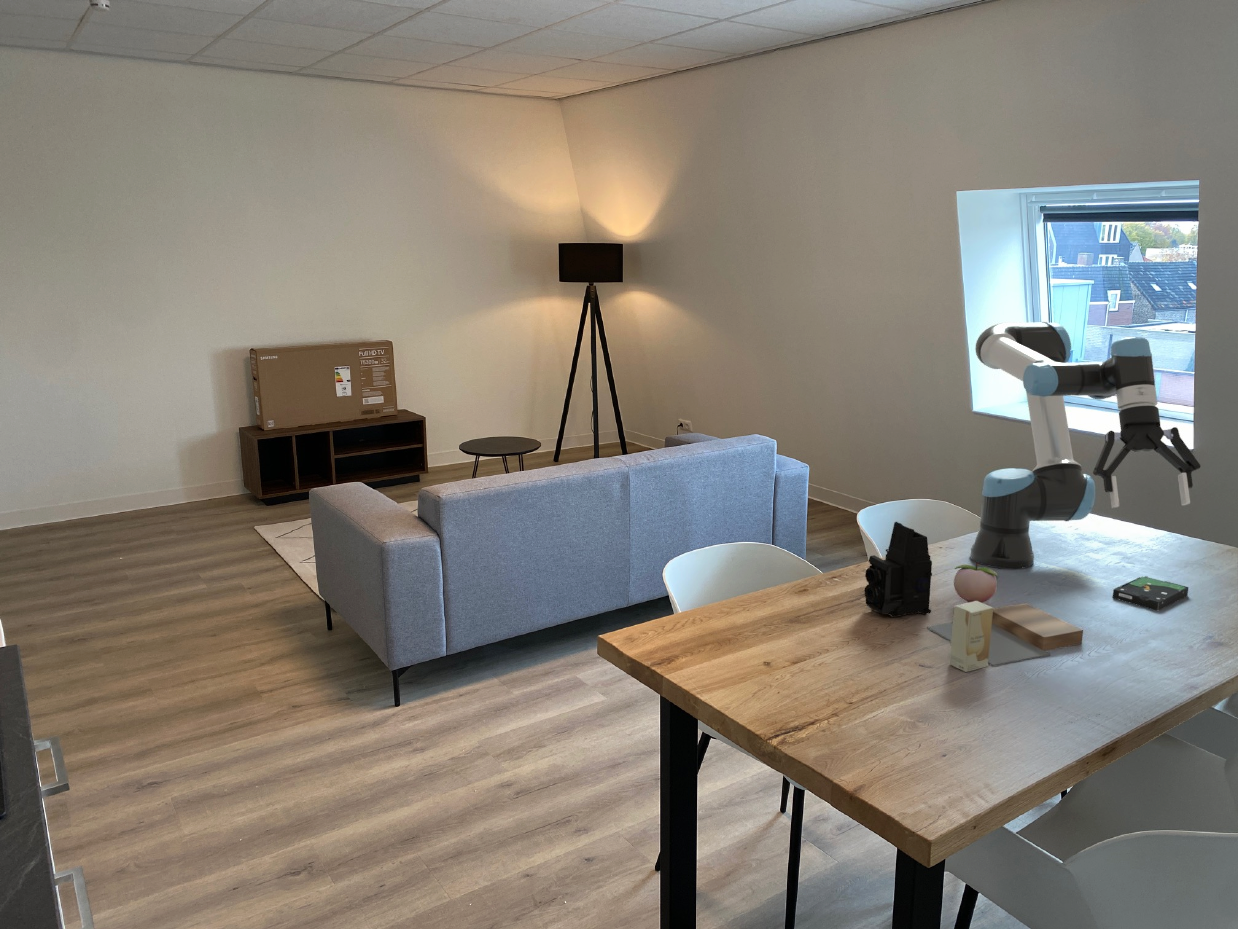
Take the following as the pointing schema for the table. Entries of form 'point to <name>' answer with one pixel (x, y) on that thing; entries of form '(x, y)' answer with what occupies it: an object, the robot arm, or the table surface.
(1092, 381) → the robot arm
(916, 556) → the camera
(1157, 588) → the disk drive
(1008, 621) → the walnut ledge
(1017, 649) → the rubber mat
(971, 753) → the table surface
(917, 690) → the table surface
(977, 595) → the decorative fruit
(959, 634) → the skincare box
